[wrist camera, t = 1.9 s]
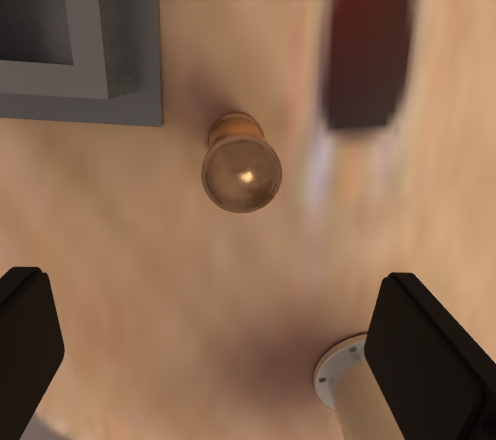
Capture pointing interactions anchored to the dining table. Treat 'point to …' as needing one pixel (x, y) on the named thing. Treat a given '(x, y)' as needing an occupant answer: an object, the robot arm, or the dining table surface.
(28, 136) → the dining table surface
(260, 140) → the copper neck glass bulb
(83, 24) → the flange socket
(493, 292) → the dining table surface
